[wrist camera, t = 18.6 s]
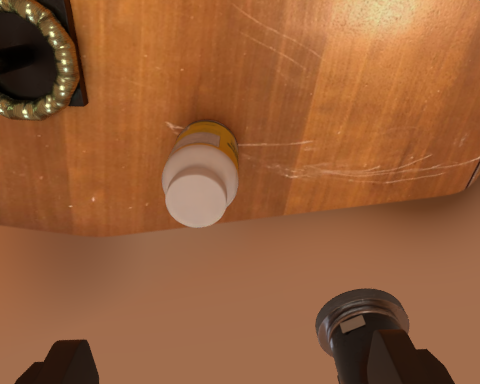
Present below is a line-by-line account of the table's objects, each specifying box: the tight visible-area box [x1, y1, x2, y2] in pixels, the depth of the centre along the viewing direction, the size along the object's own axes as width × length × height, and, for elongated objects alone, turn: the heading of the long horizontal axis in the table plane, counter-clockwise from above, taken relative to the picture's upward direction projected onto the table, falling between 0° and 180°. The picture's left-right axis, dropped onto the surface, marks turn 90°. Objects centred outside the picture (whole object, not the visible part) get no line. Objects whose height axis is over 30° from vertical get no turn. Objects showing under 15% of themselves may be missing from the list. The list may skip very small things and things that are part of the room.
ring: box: [0, 0, 80, 121], centre depth 32 cm, size 11×11×2 cm
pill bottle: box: [162, 120, 238, 228], centre depth 33 cm, size 6×6×12 cm
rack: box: [0, 0, 88, 106], centre depth 29 cm, size 9×9×9 cm
